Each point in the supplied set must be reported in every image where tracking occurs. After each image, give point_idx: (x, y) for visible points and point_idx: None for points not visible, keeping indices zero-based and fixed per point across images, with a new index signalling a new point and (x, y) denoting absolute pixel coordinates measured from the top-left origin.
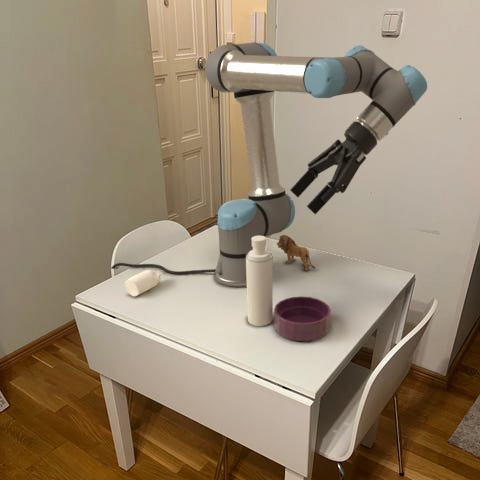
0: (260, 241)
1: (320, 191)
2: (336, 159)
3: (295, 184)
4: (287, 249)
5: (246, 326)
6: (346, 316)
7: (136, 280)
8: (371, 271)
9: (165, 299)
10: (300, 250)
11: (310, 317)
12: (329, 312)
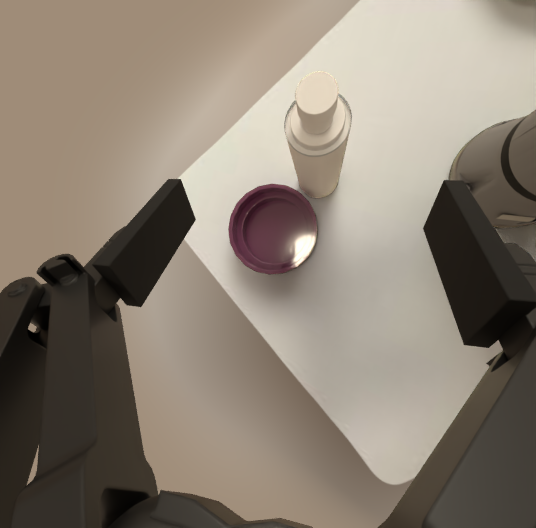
0: (295, 95)
1: (136, 230)
2: (215, 526)
3: (472, 204)
4: None
5: None
6: (286, 308)
7: None
8: (427, 433)
9: (450, 20)
10: None
11: (295, 253)
12: (249, 266)
